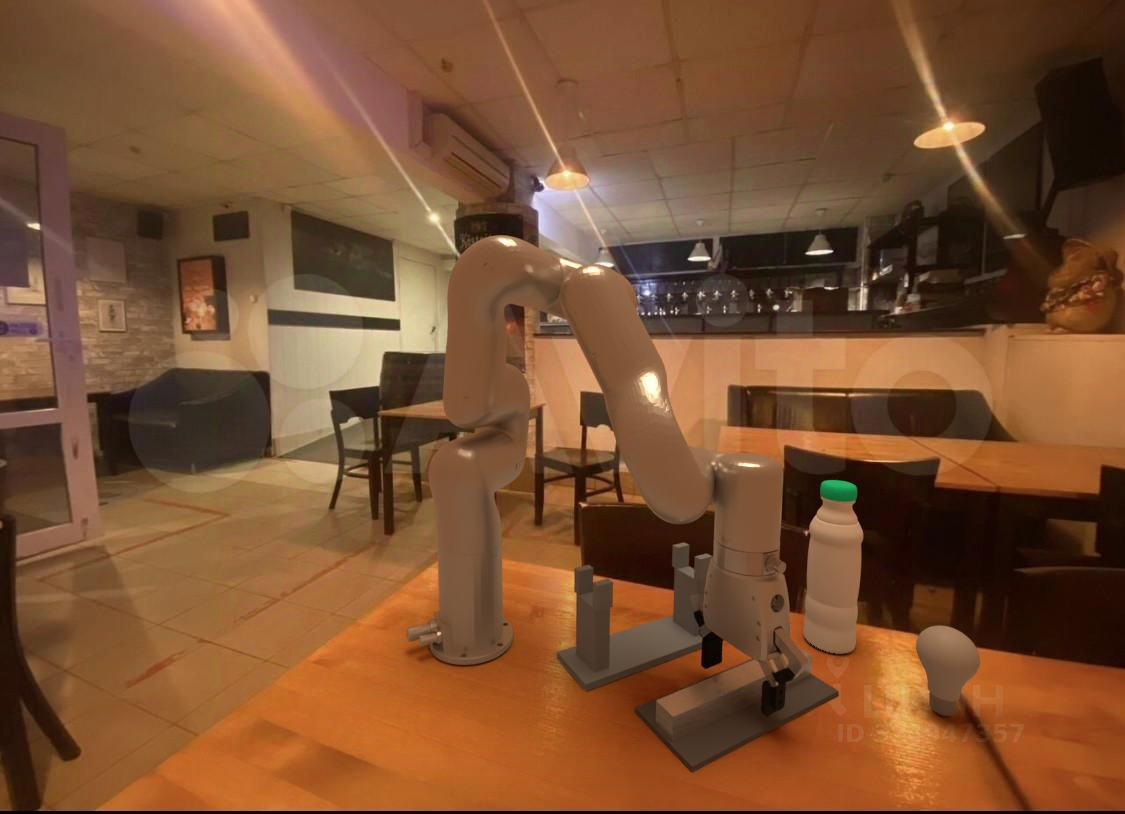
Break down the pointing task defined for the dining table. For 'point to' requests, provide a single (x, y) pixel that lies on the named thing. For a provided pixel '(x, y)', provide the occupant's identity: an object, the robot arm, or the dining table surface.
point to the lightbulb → (946, 665)
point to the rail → (715, 698)
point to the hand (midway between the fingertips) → (739, 686)
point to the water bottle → (833, 570)
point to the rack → (638, 646)
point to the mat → (737, 722)
